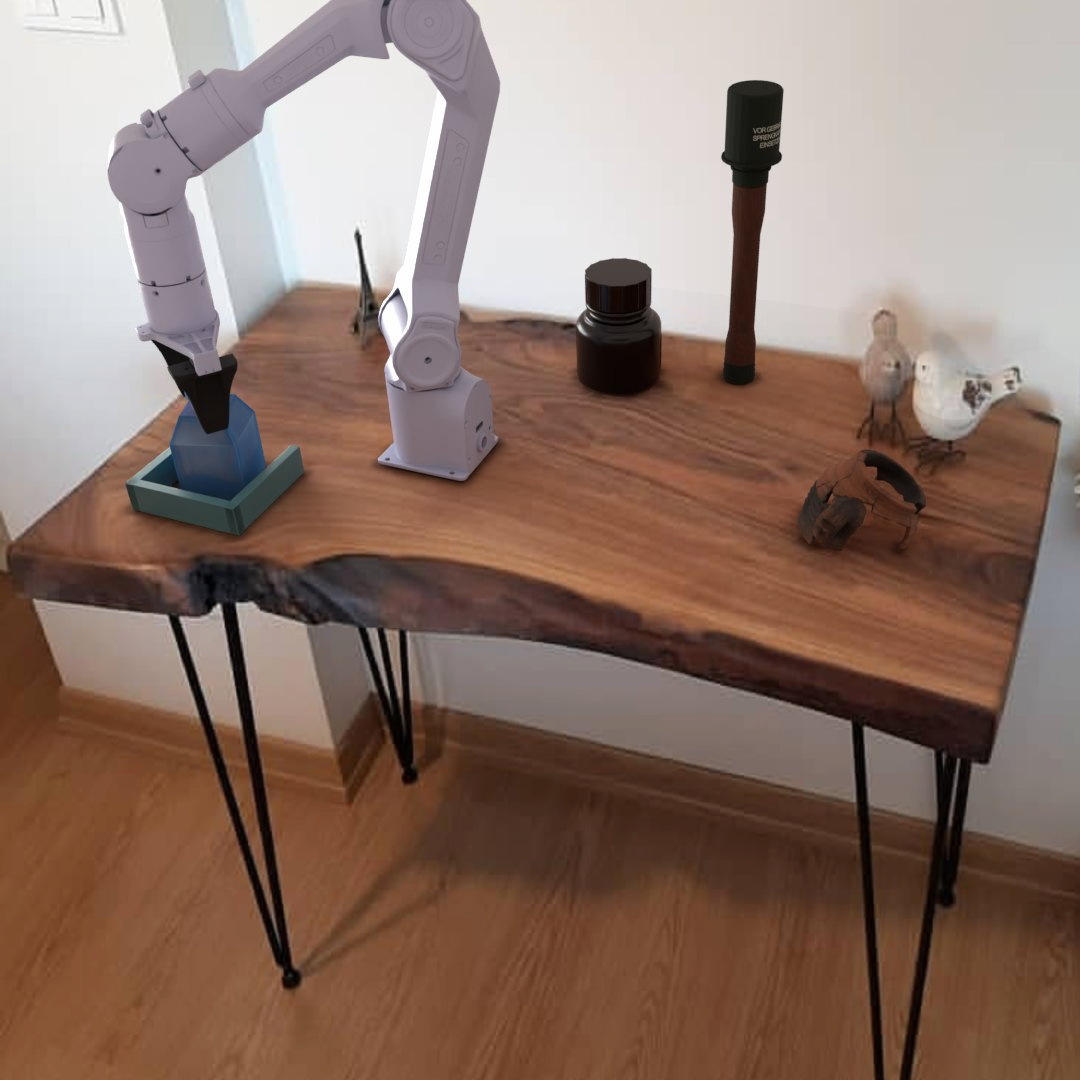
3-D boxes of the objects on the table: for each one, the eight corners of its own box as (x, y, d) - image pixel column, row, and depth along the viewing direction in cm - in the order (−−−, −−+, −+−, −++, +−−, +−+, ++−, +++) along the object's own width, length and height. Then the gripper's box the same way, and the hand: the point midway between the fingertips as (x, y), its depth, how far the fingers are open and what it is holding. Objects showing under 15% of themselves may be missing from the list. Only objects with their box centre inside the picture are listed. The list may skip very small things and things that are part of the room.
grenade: (729, 395, 127) (745, 100, 109) (701, 372, 131) (712, 84, 113) (776, 382, 128) (799, 90, 110) (747, 359, 133) (765, 74, 115)
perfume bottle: (266, 465, 120) (243, 356, 113) (247, 502, 115) (222, 390, 108) (205, 464, 120) (178, 355, 113) (184, 500, 116) (154, 389, 108)
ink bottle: (678, 368, 132) (681, 264, 124) (639, 406, 126) (640, 298, 119) (599, 349, 136) (598, 247, 129) (558, 384, 130) (554, 279, 123)
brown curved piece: (810, 494, 113) (865, 428, 108) (890, 563, 111) (950, 499, 106) (761, 533, 103) (819, 463, 98) (847, 610, 101) (911, 542, 96)
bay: (304, 472, 119) (299, 446, 117) (239, 536, 111) (232, 509, 109) (203, 449, 123) (196, 424, 121) (132, 509, 115) (124, 483, 113)
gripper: (105, 253, 108) (142, 389, 116) (144, 316, 97) (182, 460, 105) (184, 235, 110) (215, 369, 118) (231, 295, 100) (261, 437, 108)
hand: (204, 411), depth 112 cm, fingers open, 7 cm apart
